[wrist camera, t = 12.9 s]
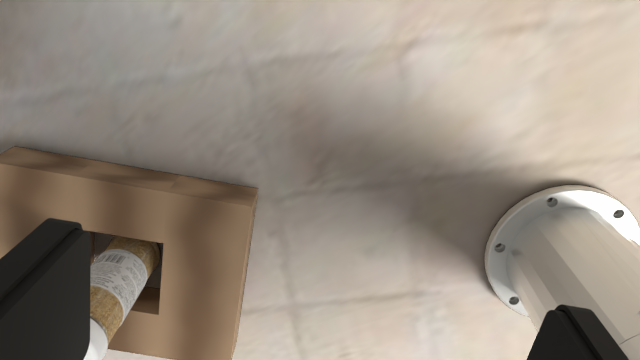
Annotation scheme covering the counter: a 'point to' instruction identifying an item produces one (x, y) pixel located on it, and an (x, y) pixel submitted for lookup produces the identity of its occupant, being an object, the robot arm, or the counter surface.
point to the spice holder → (151, 225)
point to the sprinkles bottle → (117, 287)
